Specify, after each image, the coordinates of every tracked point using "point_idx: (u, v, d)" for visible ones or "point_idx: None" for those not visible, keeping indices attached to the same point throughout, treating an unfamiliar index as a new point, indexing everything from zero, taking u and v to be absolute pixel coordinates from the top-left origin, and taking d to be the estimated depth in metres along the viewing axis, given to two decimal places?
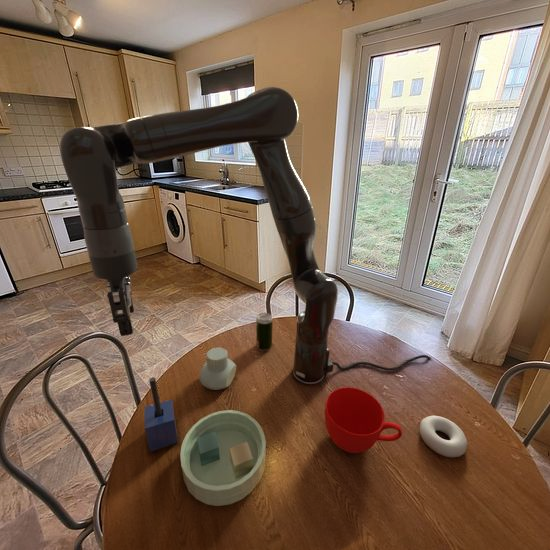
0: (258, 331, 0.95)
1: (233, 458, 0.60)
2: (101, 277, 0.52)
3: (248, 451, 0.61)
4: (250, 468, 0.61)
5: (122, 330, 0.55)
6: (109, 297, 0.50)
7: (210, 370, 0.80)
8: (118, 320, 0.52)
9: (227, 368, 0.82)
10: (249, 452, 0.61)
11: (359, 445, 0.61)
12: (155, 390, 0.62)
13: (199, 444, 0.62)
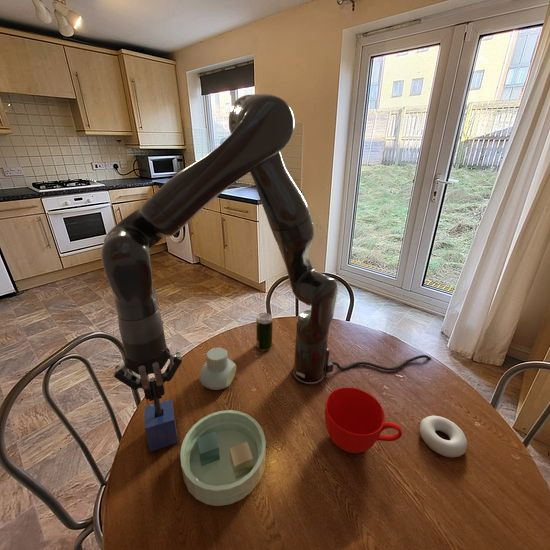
0: (258, 331, 0.95)
1: (233, 458, 0.60)
2: None
3: (248, 451, 0.61)
4: (250, 468, 0.61)
5: None
6: None
7: (210, 370, 0.80)
8: None
9: (227, 368, 0.82)
10: (249, 452, 0.61)
11: (359, 445, 0.61)
12: (155, 390, 0.62)
13: (199, 444, 0.62)
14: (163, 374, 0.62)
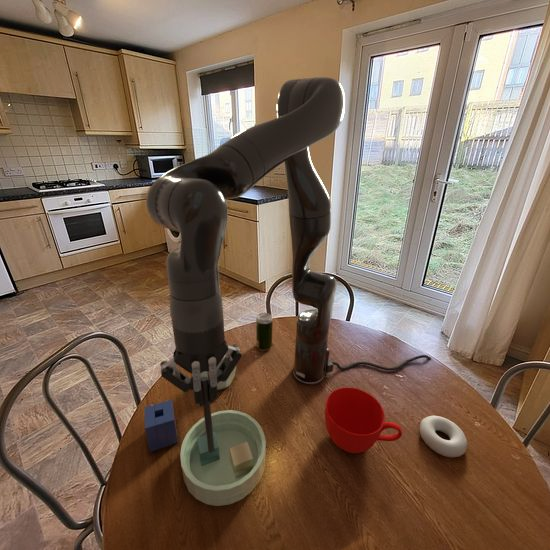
0: (258, 331, 0.95)
1: (233, 458, 0.60)
2: None
3: (248, 451, 0.61)
4: (250, 468, 0.61)
5: None
6: None
7: None
8: None
9: None
10: (249, 452, 0.61)
11: (359, 445, 0.61)
12: (207, 392, 0.50)
13: (199, 444, 0.62)
14: (217, 372, 0.50)
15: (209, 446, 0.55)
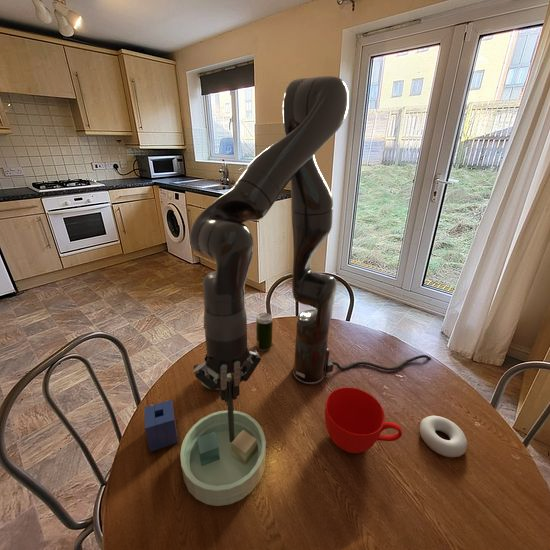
0: (258, 331, 0.95)
1: (236, 438, 0.64)
2: None
3: (249, 445, 0.63)
4: (243, 460, 0.62)
5: (219, 392, 0.59)
6: None
7: (210, 370, 0.80)
8: None
9: None
10: (248, 446, 0.62)
11: (359, 445, 0.61)
12: (231, 391, 0.59)
13: (199, 444, 0.62)
14: (239, 373, 0.59)
15: (231, 437, 0.64)
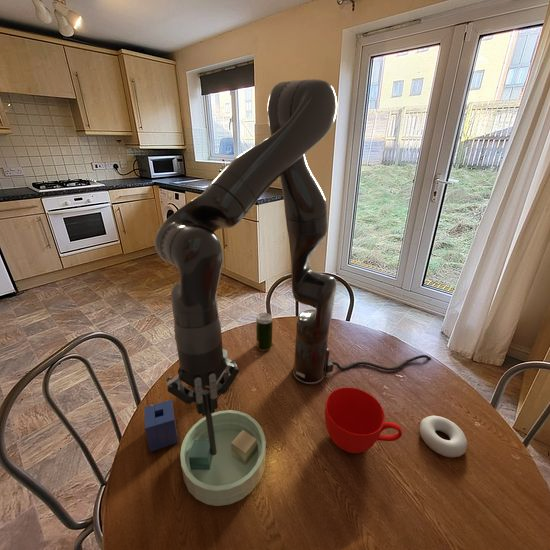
0: (258, 331, 0.95)
1: (236, 438, 0.64)
2: None
3: (249, 445, 0.63)
4: (243, 460, 0.62)
5: (196, 405, 0.56)
6: None
7: None
8: None
9: None
10: (248, 446, 0.62)
11: (359, 445, 0.61)
12: (208, 404, 0.56)
13: (192, 447, 0.62)
14: (217, 386, 0.56)
15: (212, 449, 0.61)
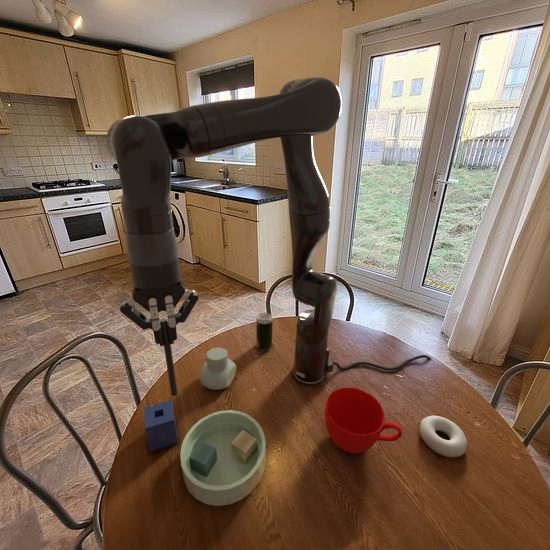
0: (258, 331, 0.95)
1: (236, 438, 0.64)
2: None
3: (249, 445, 0.63)
4: (243, 460, 0.62)
5: None
6: None
7: (210, 370, 0.80)
8: None
9: (227, 368, 0.82)
10: (248, 446, 0.62)
11: (359, 445, 0.61)
12: (167, 334, 0.53)
13: (196, 448, 0.62)
14: (176, 315, 0.53)
15: (172, 389, 0.59)
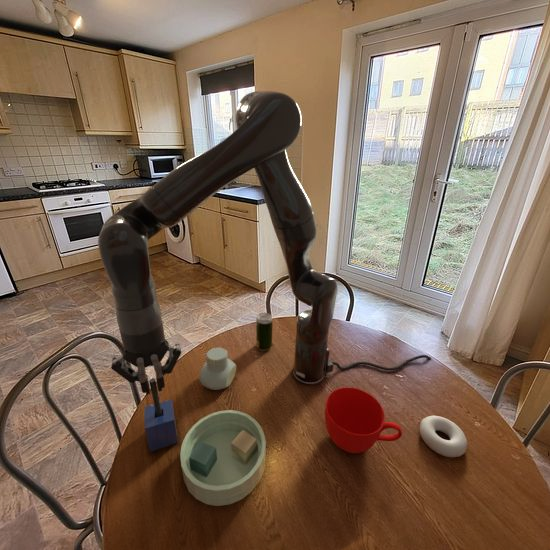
0: (258, 331, 0.95)
1: (236, 438, 0.64)
2: None
3: (249, 445, 0.63)
4: (243, 460, 0.62)
5: None
6: None
7: (210, 370, 0.80)
8: None
9: (227, 368, 0.82)
10: (248, 446, 0.62)
11: (359, 445, 0.61)
12: (155, 391, 0.62)
13: (196, 448, 0.62)
14: (163, 366, 0.61)
15: None
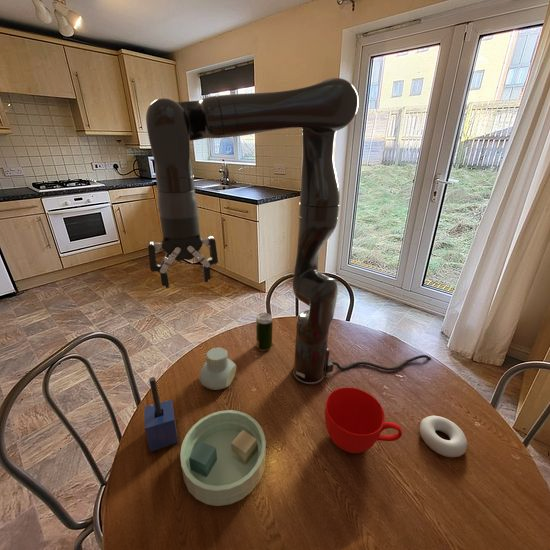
0: (258, 331, 0.95)
1: (236, 438, 0.64)
2: None
3: (249, 445, 0.63)
4: (243, 460, 0.62)
5: None
6: None
7: (210, 370, 0.80)
8: None
9: (227, 368, 0.82)
10: (248, 446, 0.62)
11: (359, 445, 0.61)
12: (155, 390, 0.62)
13: (196, 448, 0.62)
14: (210, 258, 0.66)
15: None
